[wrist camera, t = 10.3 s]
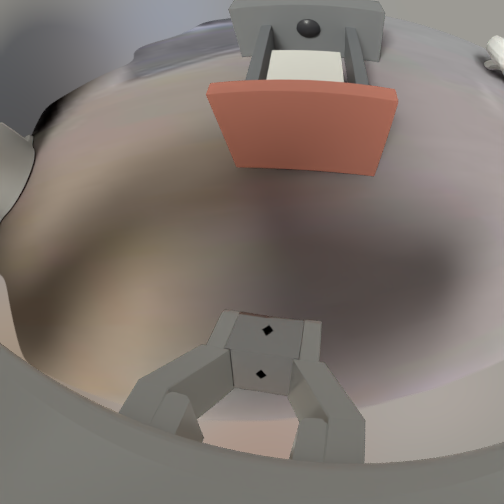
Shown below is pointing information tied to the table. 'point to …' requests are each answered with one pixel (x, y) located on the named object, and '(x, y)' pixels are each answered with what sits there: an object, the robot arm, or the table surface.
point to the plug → (304, 116)
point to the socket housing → (309, 31)
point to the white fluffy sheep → (495, 54)
